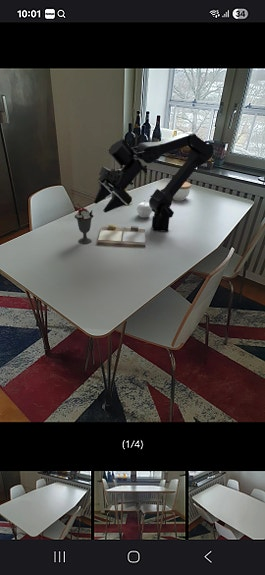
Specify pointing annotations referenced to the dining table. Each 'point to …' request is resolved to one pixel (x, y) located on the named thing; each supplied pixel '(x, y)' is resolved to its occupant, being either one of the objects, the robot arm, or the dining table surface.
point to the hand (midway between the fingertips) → (99, 207)
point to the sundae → (84, 223)
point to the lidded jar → (182, 192)
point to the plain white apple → (144, 209)
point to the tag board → (122, 236)
